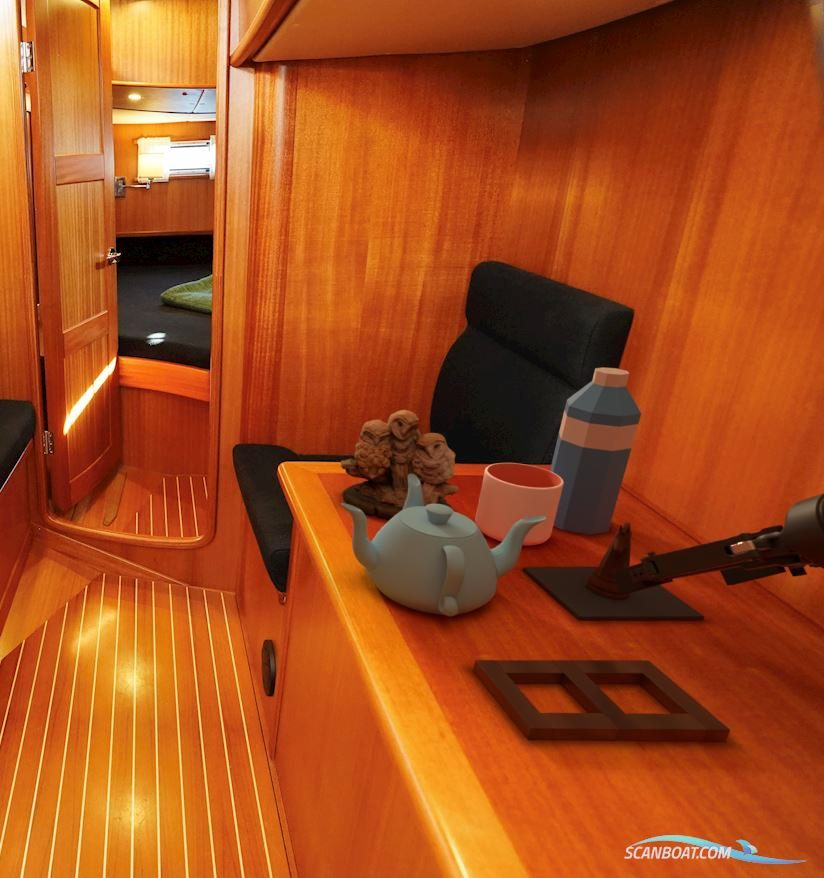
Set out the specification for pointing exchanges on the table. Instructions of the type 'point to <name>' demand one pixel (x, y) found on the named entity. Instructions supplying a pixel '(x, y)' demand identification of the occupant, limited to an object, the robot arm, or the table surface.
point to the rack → (598, 701)
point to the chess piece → (612, 566)
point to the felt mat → (590, 606)
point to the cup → (518, 500)
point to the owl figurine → (398, 465)
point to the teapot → (435, 555)
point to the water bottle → (594, 451)
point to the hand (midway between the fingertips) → (671, 578)
